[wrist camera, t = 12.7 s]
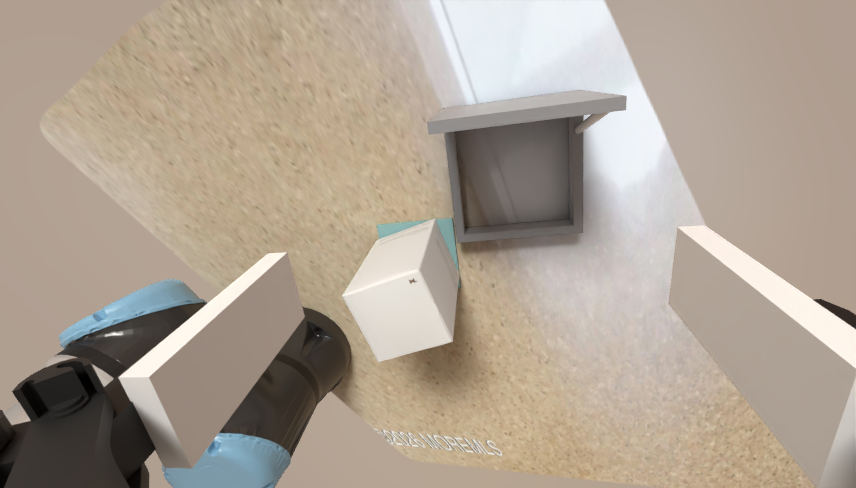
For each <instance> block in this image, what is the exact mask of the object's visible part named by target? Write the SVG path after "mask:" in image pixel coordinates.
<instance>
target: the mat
mask: <svg viewBox="0 0 856 488" xmlns="http://www.w3.org/2000/svg"><path fill="white" fill-rule="evenodd" d="M427 221H430V220H425V221H414V222H403V223H392V224H381V225H377V229H378V234H379V239H381V238H383V237H386V236H389V235H392V234H394V233H397V232H400V231H402V230H405V229H408V228H411V227H413V226H416V225H419V224H422V223H424V222H427ZM436 222H437V224H438V226H439V229H440V231H441V233H442V235H443V238H444V240H445V242H446V245H447V247H448V249H449V252H450V254H451V256H452V259H453V261H454V263H455V266H456V268H457V270H458V273H459V269H458V261H457V252H456V244H455V235H454V227H453V219H452V218H447V219H436ZM460 287H461V286H460V278H459V283H458V288H460Z"/></svg>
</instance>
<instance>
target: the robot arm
mask: <svg viewBox="0 0 856 488" xmlns="http://www.w3.org/2000/svg"><path fill="white" fill-rule="evenodd" d="M669 305H670V306H671V307H672V309H673V310H674V311H675V312H676V314H677V315H678V316H679V317H680V319H681V320H682V321H683V322H684V324H685V325H686V326H687V327H688V329H689V330H690V331H691V332H692V333H693V335H694V336H695V337H696V338H697V340H698V341H699V342H700V343H701V345H702V346H703V347H704V348H705V350H706V351H707V352H708V353H709V355H710V356H711V357H712V358H713V360H714V361H715V362H716V363H717V365H718V366H719V367H720V368H721V370H722V371H723V372H724V373H725V375H726V376H727V377H728V378H729V380H730V381H731V382H732V383H733V385H734V386H735V387H736V388H737V390H738V391H739V392H740V393H741V395H742V396H743V397H744V398H745V400H746V401H747V402H748V403H749V405H750V406H751V407H752V408H753V410H754V411H755V412H756V413H757V415H758V416H759V417H760V418H761V420H762V421H763V422H764V423H765V425H766V426H767V427H768V428H769V430H770V431H771V432H772V433H773V435H774V436H775V437H776V438H777V440H778V441H779V442H780V443H781V445H782V446H783V447H784V448H785V450H786V451H787V452H788V453H789V455H790V456H791V457H792V458H793V460H794V461H795V462H796V463H797V464H798V466H799V467H800V468H801V469H802V471H803V472H804V473H805V474H806V476H807V477H808V478H809V479H810V481H811V482H812V483H813V484H814V486H815V487H816V488H856V315H855V314H854V313H852V312H850V311H849V310H846V309H844V308H841V307H839V306H836V305H834V304H831V303H829V302H826V301H824V300H822V299H816V300H812V299H811V298H809V297H808V296H806V295H805V294H803V293H802V292H801V291H799V290H798V289H796V288H795V287H793V286H792V285H790V284H789V283H788V282H786V281H785V280H783V279H782V278H780V277H779V276H777V275H776V274H774V273H773V272H771V271H770V270H769V269H767V268H765V267H764V266H763V265H761V264H760V263H758V262H757V261H756V260H754V259H753V258H751V257H750V256H748V255H747V254H745V253H744V252H742V251H741V250H740V249H738V248H737V247H735V246H734V245H732V244H731V243H729V242H728V241H726V240H725V239H724V238H722V237H721V236H719V235H718V234H716V233H715V232H713V231H712V230H710V229H709V228H708V227H706V226H705V225H703V226H687V227H677V236H676V244H675V253H674V262H673V270H672V279H671V287H670V296H669ZM59 340H60V342H61V347H63V348H64V350H63V351H61V352H60V353H58V354H57V355H55V356H54V357H52V358H51V359H49V360H48V361H47V363H46V365H45V368H43V369H41V370H40V371H38V372H36V373H34V374H33V375H31V376H29V377H28V378H26V379H25V380H24V381H22V382H21V383H19V384H18V385H17V387H16V388H15V389H14V390H13V391H12V392H13V394H14V395H15V397H16V398H17V400H18V401H19V402H18V403H16V404H15V405H14V406H12V407H11V408H9V409H8V410H6V411H5V412H4V413H3V411H2V410H0V488H149V472H148V469H147V468H146V465H145V463H144V462H145V461H146V459H147V458H148V457H149V456H150V455H151V454H152V453H153V451H154V450H155V451H156V452H157V454H158V456H159V458H160V460H161V462H162V470H163V472H165V473H164V476H165V479H166V480H167V482H168V483H169V484H170V485H171V486H172V487H173V488H275V486H276V484H277V482H278V481H279V479H280V478H281V476H282V474H283V473H284V471H285V470H286V468H287V467H288V466H289V464H290V460H291V457H292V455H293V453H294V451H295V448H296V447H297V445H298V443H299V441H300V438H301V436H302V434H303V432H304V430H305V428H306V426H307V424H308V422H309V420H310V418H311V416H312V414H313V412H314V410H315V408H316V406H317V404H318V403H319V402H320V401H321V400H322V399H323V398H324V396H326V394H327V393H328V392H330V391H332V390H333V389H334V388H335V387H336V386H337V385H338V384H339V383H340V382H341V380H342V379H343V377H344V375H345V373H346V371H347V369H348V366H349V363H350V357H351V354H350V347H349V343H348V341H347V339H346V337H345V335H344V333H343V332H342V330H341V329H340V328H339V327H338V326H337V325H336V324H335V323H334V322H333V321H332V320H331V319H329V318H328V317H326V316H325V315H323V314H321V313H319V312H317V311H315V310H312V309H308V308H304V307H302V304H301V301H300V297H299V293H298V290H297V286H296V282H295V279H294V275H293V271H292V268H291V264H290V261H289V257H288V253H287V252H284V253H269V254H267V255H266V256H264V257H263V258H262V259H261V260H260V261H258V262H257V263H256V264H255V265H254V266H252V267H251V268H250V269H249V270H247V271H246V272H245V273H244V274H243V275H241V276H240V277H239V278H238V279H237V280H235V281H234V282H233V283H232V284H231V285H229V286H228V287H227V288H226V289H225V290H223V291H222V292H221V293H220V294H218V295H217V296H216V297H215V298H214V299H212V300H211V301H210V302H209V303H208V304H207V302H206V301H205V300H203V299H200V298H199V297H198V296H197V295H196V294H195V293H194V292H193V291H192V290H191V289H190V288H189V287H188V286H187V285H186V284H185V283H183V282H182V281H179V280H175V279H168V280H163V281H159V282H156V283H154V284H151V285H149V286H147V287H144V288H142V289H140V290H138V291H136V292H133V293H131V294H129V295H127V296H125V297H123V298H121V299H119V300H117V301H115V302H113V303H111V304H109V305H108V306H106V307H104V308H103V309H102V310H101V311H97V312H95V313H94V314H92V315H90V316H88V317H85V318H84V319H82V320H80V321H78V322H77V323H75V324H74V325H72V326H70V327H69V328H67V329H66V330H65V331H63V332H62V333H61V334H60V336H59Z"/></svg>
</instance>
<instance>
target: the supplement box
mask: <svg viewBox="0 0 856 488" xmlns="http://www.w3.org/2000/svg"><path fill="white" fill-rule="evenodd" d="M458 283H459V273H458V270H457V268H456V266H455V263H454V261H453V259H452V256H451V254H450V252H449V249H448V247H447V245H446V242H445V240H444V238H443V235H442V233H441V231H440V229H439V226H438V224H437V222H436V220H435V219H433V220H430V221H427V222H424V223H422V224H419V225H416V226H413V227H411V228H408V229H405V230H402V231H400V232H397V233H394V234H392V235H389V236H386V237H383V238H381V239H378V240H377V241H376V242H375V244H374V245H373V247H372V249H371V250H370V252H369V253H368V255H367V257H366V258H365V260H364V262H363V263H362V265H361V266H360V268H359V270H358V271H357V273H356V275H355V276H354V278H353V279H352V281H351V282H350V284H349V286H348V287H347V289H346V290H345V292H344V294H343V295H342V297H343V299H344V301H345V302H346V304H347V306H348V308H349V310H350V311H351V313H352V315H353V317H354V319H355V321H356V322H357V324H358V326H359V328H360V330H361V331H362V333H363V335H364V337H365V339H366V340H367V342H368V344H369V346H370V348H371V349H372V351H373V353H374V355H375V357H376V358H377V360H378V362H381V361H385V360H389V359H392V358H396V357H399V356H403V355H406V354H410V353H413V352H417V351H421V350H425V349H429V348H433V347H436V346H440V345H443V344H447V343H451V342H453V335H454V325H455V314H456V303H457V293H458Z"/></svg>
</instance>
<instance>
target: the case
mask: <svg viewBox="0 0 856 488" xmlns="http://www.w3.org/2000/svg"><path fill="white" fill-rule="evenodd" d="M621 110H626V96H624V95H616V94H608V93H600V92H592V91H584V90H575V91H568V92H560V93H553V94H546V95H538V96H531V97H524V98H516V99H509V100H501V101H494V102H487V103H479V104H472V105H464V106H457V107H450V108H443V109H442V110H441V111H440V112H438V113H437V114H436V115H435V116H434V117H432V118H431V119H430V120H429V121H428V122H427V124H428V132H429V135H430V134H438V133H445V141H446V150H447V158H448V167H449V175H450V184H451V192H452V201H453V210H454V218H455V227H456V235H457V243H462V242H475V241H487V240H499V239H512V238H524V237H536V236H549V235H561V234H573V233H583V131H584V130H586V129H587V128H588V127H590V126H591V125H593V124H594V123H595V122H597V121H598V120H600V119H601V118H602V117H604V116H605V115H607V114H608V113H609V112H613V111H621ZM589 114H592V115H590V116H589V117H588V118H587V119H586V120H584V121H583V115H589ZM566 117H569V210H570V219H562V220H550V221H539V222H527V223H516V224H504V225H493V226H481V227H470V228H465V221H464V212H463V202H462V193H461V184H460V175H459V165H458V156H457V147H456V137H455V131H462V130H470V129H478V128H486V127H494V126H502V125H510V124H518V123H526V122H534V121H542V120H550V119H558V118H566Z"/></svg>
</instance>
